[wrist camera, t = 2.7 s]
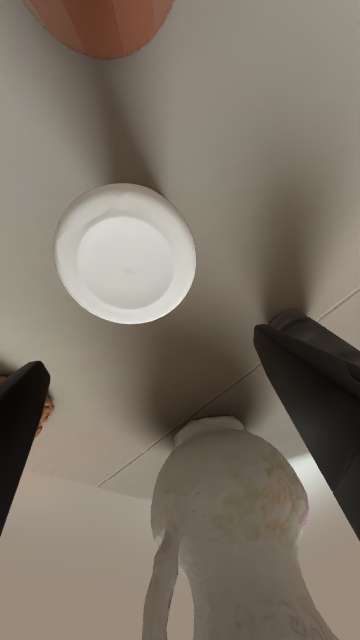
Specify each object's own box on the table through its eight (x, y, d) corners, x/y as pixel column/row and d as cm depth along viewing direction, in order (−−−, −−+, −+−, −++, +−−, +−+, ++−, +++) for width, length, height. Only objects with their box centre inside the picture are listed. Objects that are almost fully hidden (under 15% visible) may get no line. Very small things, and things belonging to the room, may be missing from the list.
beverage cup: (269, 295, 24) (564, 578, 7) (328, 301, 25) (706, 553, 8) (248, 349, 27) (406, 621, 10) (301, 352, 29) (520, 600, 12)
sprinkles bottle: (165, 248, 20) (184, 334, 9) (112, 239, 19) (55, 323, 8) (173, 189, 18) (214, 201, 6) (114, 177, 17) (37, 165, 5)
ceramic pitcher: (121, 451, 37) (78, 793, 17) (167, 377, 28) (195, 964, 8) (229, 465, 44) (290, 723, 24) (297, 409, 34) (497, 765, 14)
